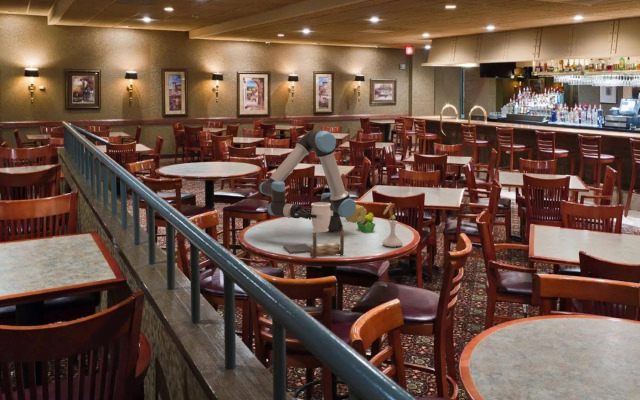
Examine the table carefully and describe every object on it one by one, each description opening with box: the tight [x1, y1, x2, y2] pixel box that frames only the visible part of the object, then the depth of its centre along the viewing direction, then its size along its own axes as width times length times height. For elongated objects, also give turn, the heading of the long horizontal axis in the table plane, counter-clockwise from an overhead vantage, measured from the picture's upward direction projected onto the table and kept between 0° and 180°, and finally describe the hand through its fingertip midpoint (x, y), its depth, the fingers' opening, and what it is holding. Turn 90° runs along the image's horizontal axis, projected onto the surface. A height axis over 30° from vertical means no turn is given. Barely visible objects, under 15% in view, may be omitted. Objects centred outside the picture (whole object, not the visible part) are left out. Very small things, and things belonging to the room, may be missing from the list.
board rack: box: [309, 230, 345, 259], centre depth 335 cm, size 17×7×13 cm, turn 109°
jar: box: [310, 201, 331, 233], centre depth 348 cm, size 11×10×15 cm
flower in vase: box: [381, 202, 403, 248], centre depth 355 cm, size 13×11×25 cm
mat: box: [282, 243, 312, 255], centre depth 347 cm, size 13×14×1 cm
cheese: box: [345, 204, 368, 223], centre depth 424 cm, size 10×11×10 cm
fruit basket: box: [356, 212, 376, 233], centre depth 394 cm, size 11×9×11 cm
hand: (327, 215), depth 346 cm, fingers closed on jar, 10 cm apart
